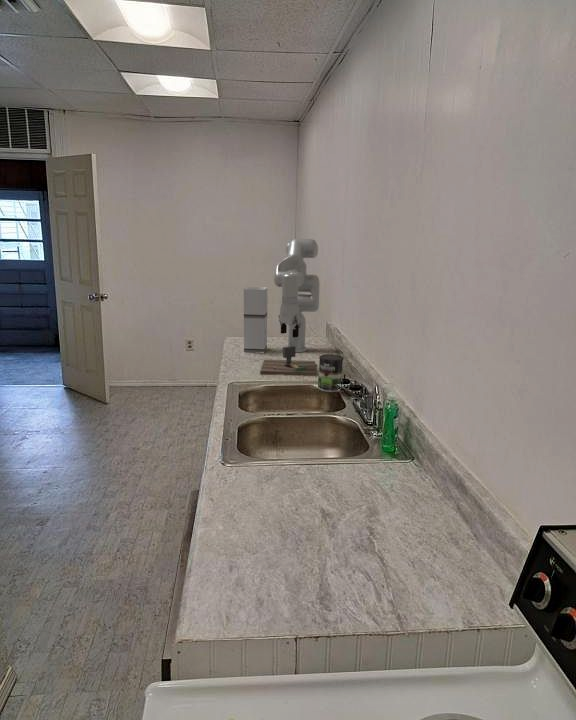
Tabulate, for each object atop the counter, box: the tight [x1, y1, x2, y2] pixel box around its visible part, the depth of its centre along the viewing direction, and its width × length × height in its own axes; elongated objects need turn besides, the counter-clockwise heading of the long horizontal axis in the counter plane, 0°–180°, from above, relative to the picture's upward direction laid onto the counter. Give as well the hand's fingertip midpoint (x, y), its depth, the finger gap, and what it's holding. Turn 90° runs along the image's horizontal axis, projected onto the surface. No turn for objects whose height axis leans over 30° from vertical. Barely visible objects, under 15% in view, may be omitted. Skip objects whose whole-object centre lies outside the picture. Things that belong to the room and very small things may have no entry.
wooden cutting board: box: [260, 359, 317, 377], centre depth 251 cm, size 22×26×3 cm
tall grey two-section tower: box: [243, 286, 268, 353], centre depth 285 cm, size 11×11×35 cm
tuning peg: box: [282, 345, 299, 368], centre depth 247 cm, size 11×6×9 cm, turn 30°
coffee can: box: [317, 353, 345, 393], centre depth 219 cm, size 10×10×14 cm
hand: (289, 335), depth 248 cm, fingers open, 9 cm apart
